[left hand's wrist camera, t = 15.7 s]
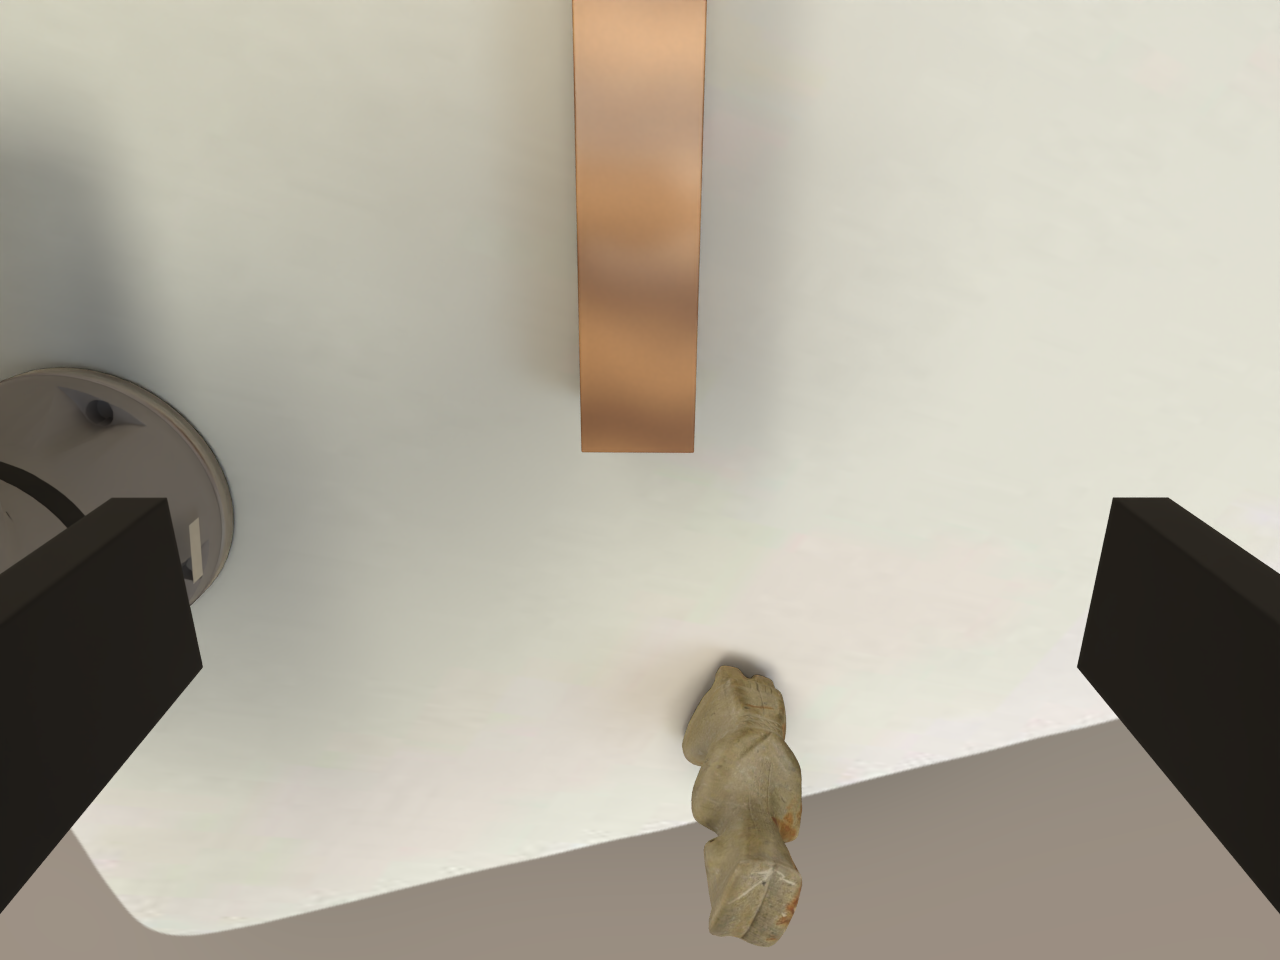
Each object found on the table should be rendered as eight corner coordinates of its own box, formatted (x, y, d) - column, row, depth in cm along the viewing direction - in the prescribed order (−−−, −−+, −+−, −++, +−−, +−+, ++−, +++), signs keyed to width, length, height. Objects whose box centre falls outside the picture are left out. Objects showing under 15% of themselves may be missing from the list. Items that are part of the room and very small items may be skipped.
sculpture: (663, 734, 55) (672, 938, 41) (710, 641, 52) (736, 825, 38) (748, 762, 56) (785, 972, 42) (798, 673, 53) (855, 864, 39)
